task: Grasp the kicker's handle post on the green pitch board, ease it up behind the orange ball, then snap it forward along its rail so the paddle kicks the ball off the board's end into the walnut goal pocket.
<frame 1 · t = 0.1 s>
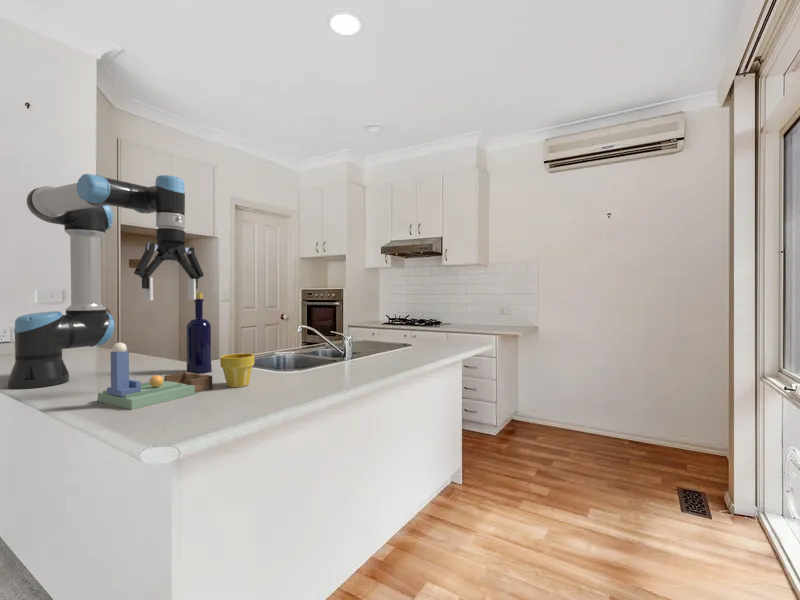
hand: (171, 300, 123), 28 cm above the countertop, fingers open, 13 cm apart
plant pot: (237, 386, 134), on the countertop
pitch: (148, 397, 118), on the countertop
ball: (156, 381, 120), point 4 cm above the countertop, touching pitch
bottle: (199, 372, 156), on the countertop
kicker: (124, 367, 112), point 10 cm above the countertop, slide at 0.0 cm
goal: (188, 388, 129), on the countertop
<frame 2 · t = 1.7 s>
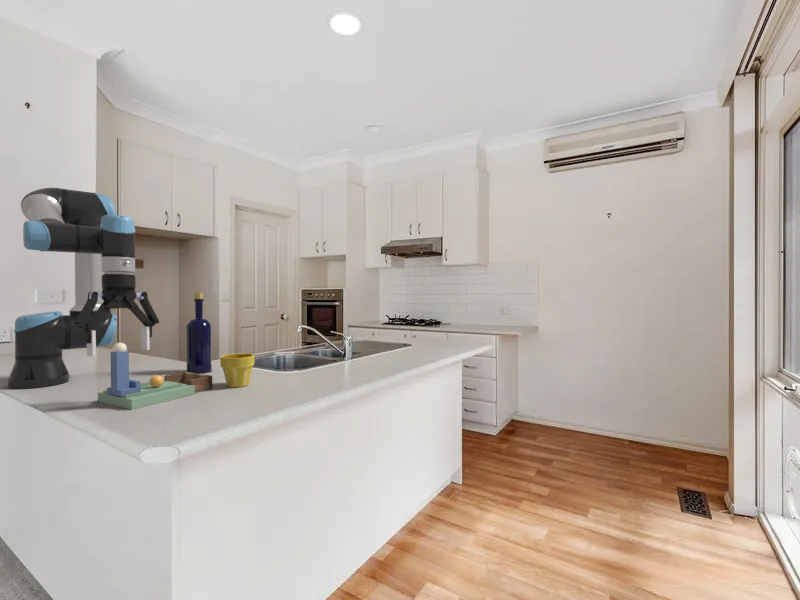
hand: (119, 352, 111), 14 cm above the countertop, fingers open, 13 cm apart
nothing on the countertop moved.
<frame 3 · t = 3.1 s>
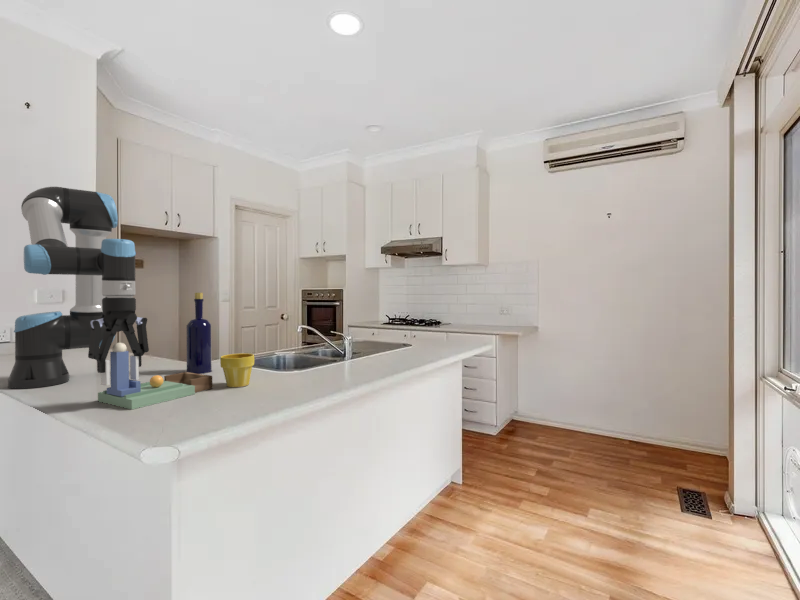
hand: (120, 381, 111), 6 cm above the countertop, fingers open, 7 cm apart
kicker: (123, 367, 112), point 10 cm above the countertop, slide at 0.0 cm, touching gripper
everything else where it was.
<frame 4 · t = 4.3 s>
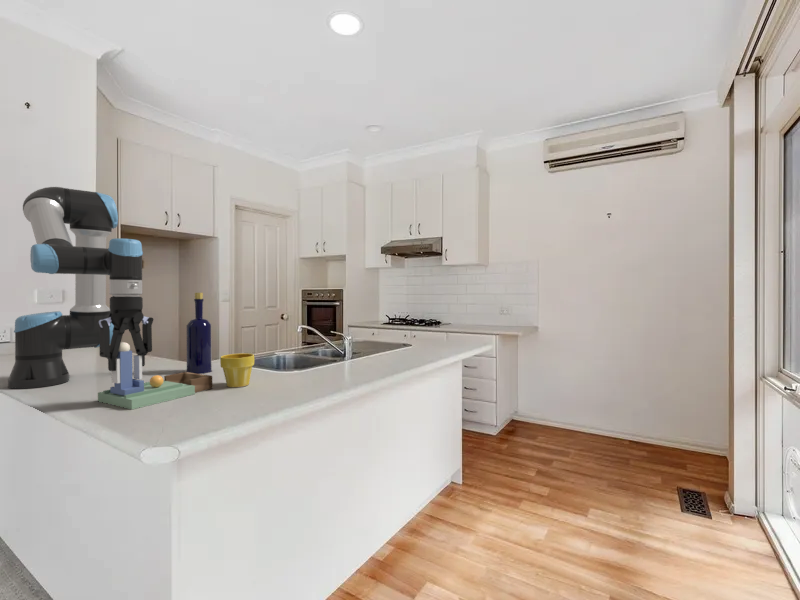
hand: (127, 380, 113), 6 cm above the countertop, fingers closed on kicker, 5 cm apart
kicker: (127, 367, 113), point 10 cm above the countertop, slide at 0.9 cm, touching gripper
everything else where it was.
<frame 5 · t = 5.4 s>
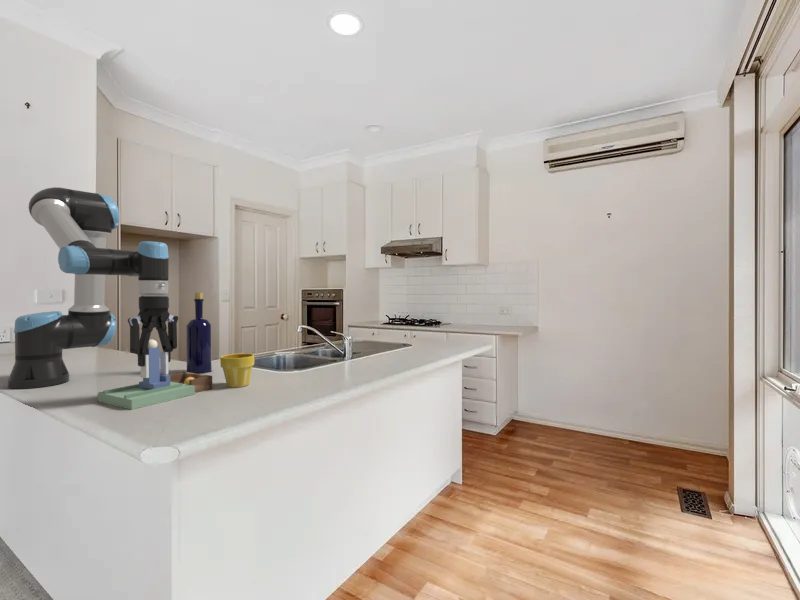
hand: (154, 375, 119), 6 cm above the countertop, fingers closed on kicker, 5 cm apart
ball: (190, 382, 129), point 2 cm above the countertop, tilted 24°
kicker: (154, 362, 119), point 10 cm above the countertop, slide at 8.5 cm, touching gripper
everything else where it was.
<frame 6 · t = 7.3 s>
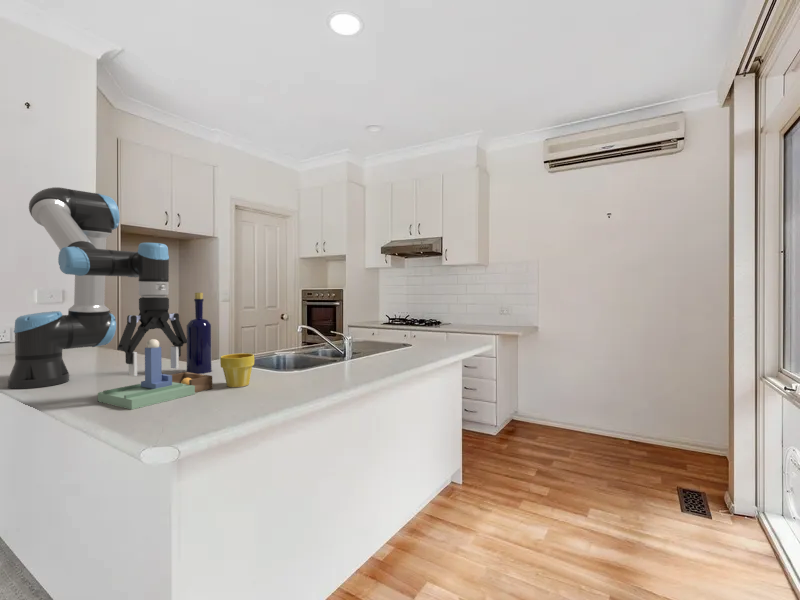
hand: (154, 371, 119), 7 cm above the countertop, fingers open, 11 cm apart
ball: (187, 383, 128), point 2 cm above the countertop, tilted 58°
kicker: (156, 362, 120), point 10 cm above the countertop, slide at 9.1 cm
everything else where it was.
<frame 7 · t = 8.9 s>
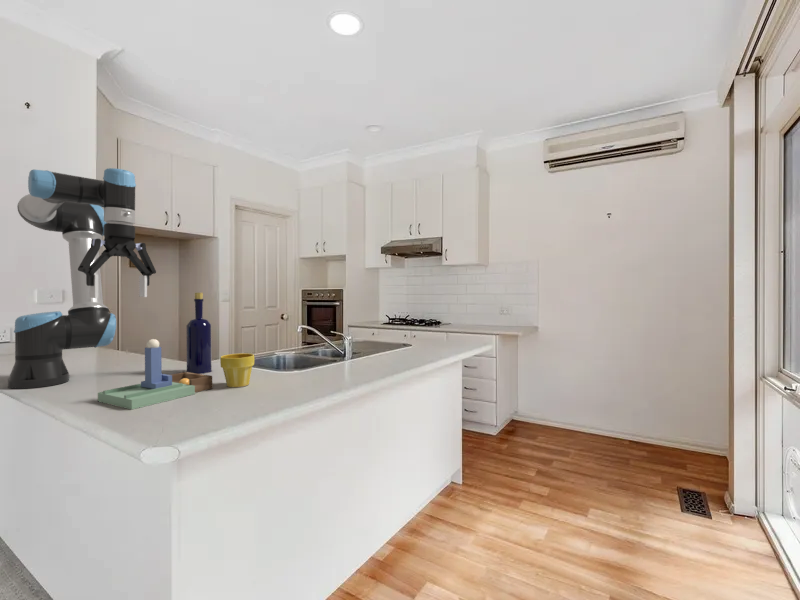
hand: (119, 297, 120), 29 cm above the countertop, fingers open, 13 cm apart
ball: (184, 383, 128), point 2 cm above the countertop, tilted 86°
everything else where it was.
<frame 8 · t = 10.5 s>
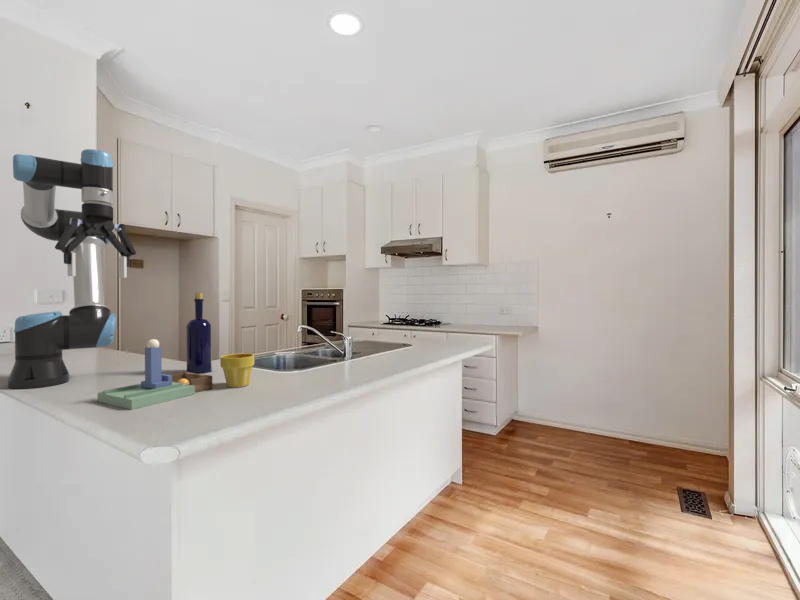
hand: (98, 277, 121), 35 cm above the countertop, fingers open, 13 cm apart
ball: (182, 384, 127), point 2 cm above the countertop, tilted 104°
everything else where it was.
at the end: ball inside the target area (1.7 cm from its centre), point 1.7 cm above the countertop; kicker slide at 9.1 cm; the gripper is holding nothing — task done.
